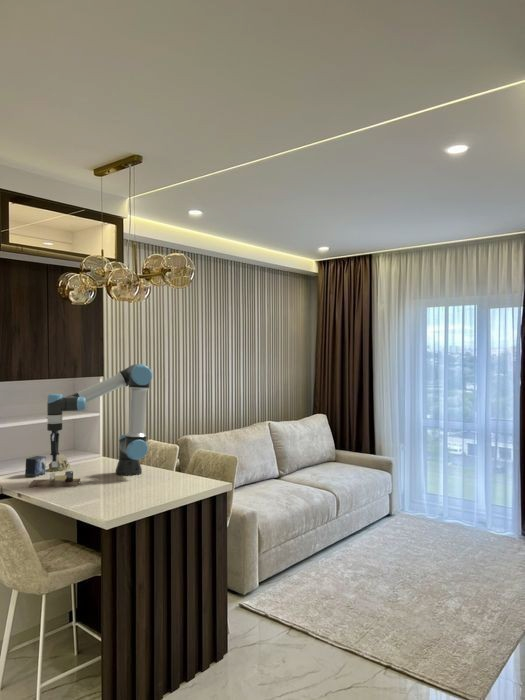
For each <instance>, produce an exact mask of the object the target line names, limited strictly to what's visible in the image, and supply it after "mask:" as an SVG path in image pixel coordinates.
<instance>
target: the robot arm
mask: <svg viewBox="0 0 525 700" xmlns="http://www.w3.org/2000/svg"><path fill="white" fill-rule="evenodd" d="M152 379H153V371H152V370H151V368H150V367H149V366H147V365H145V364H144V363H143V364H142V363H140V364H139V363H138V364H136V363H135V364H132V365H129V366H128V367H127V368H124V369H123V370H120V371H118V372H117V374H116V375H113V376H112V377H109V378H107V379H104V380H102V381H100V382H98V383H96V384H93V385H91V386H89V387H86V388H84V389H82V390H80V391H77V392H75V393H73V394H70V395H67V396H63V394H62V393H51V394H48V395H47V403H46V404H47V406H46V407H47V409H46V412H47V414H46V415H47V416H46V417H45V419H46V420H47V421H46V422H47V424H46V425H47V429H46V430H47V431H48V432H51V433H50V435H49V436H50V438H49V439H50V454H49V455H50V456H51V462H52V467H58V454H59V453H60V452H59V446H60V445H59V444H60V443H59V442H60V433H59V431H62V430H63V412H74V411H75V412H79V411H85V410H86V407H87V403H88V402H91V401H94V400H95V399H97V398H99V397H102V396H105V395H106V394H109V393H111V392H113V391H116V390H118V389H120V388H122V387H123V388H126V387H128V388H129V389H130V404H129V405H130V407H129V422H128V433H126V434H120V435H119V439H118V443H119V444H118V447H119V448H118V462H117V465H116V468H115V473H116V475H117V476H136V475H135V474H138V475H140V473H141V474H142V473H143V472H142V470H143V468H142V466H141V462H140V460H142V459H143V458H145V457H146V456H147V454H148V450H149V448H148V447H149V445H148V443H147V434H146V433H145V421H146V405H147V392H148V390H149V389H150V383H151V381H152Z"/></svg>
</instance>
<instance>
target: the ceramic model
mask: <svg viewBox="0 0 525 700" xmlns="http://www.w3.org/2000/svg"><path fill="white" fill-rule="evenodd" d="M58 453H59V454H57V455H58V467H52V461H50V463H48V468H47V470H46V471H47V472H57V471H59V472H64V471H63V470H66V471H68V470H69V469H70V467H71V464H70V463H68V462H69V461H68V459H67V456H65V455H64V454H63V453H61V452H58ZM67 469H68V470H67Z"/></svg>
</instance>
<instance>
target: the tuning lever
mask: <svg viewBox="0 0 525 700" xmlns="http://www.w3.org/2000/svg"><path fill="white" fill-rule="evenodd" d="M64 473H65V474H61V475H56V473H55V472H54V473H52V472H51V473H49V479H50V482H55V480H63V479H65V481H73V479H74V471H72V470H66V471H64Z"/></svg>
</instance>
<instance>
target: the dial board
mask: <svg viewBox="0 0 525 700" xmlns="http://www.w3.org/2000/svg"><path fill="white" fill-rule="evenodd" d="M79 482H81V478H73V481H65V479H63V480H55V482H50V478H48V479H47V478H46V479H32V481H31V482H30V483H29V484H28V487H39V488H66V487H69V486H70V487H71V486H74V487H78V486H79V484H80V483H79ZM28 487H27V488H28ZM71 488H72V487H71Z"/></svg>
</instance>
